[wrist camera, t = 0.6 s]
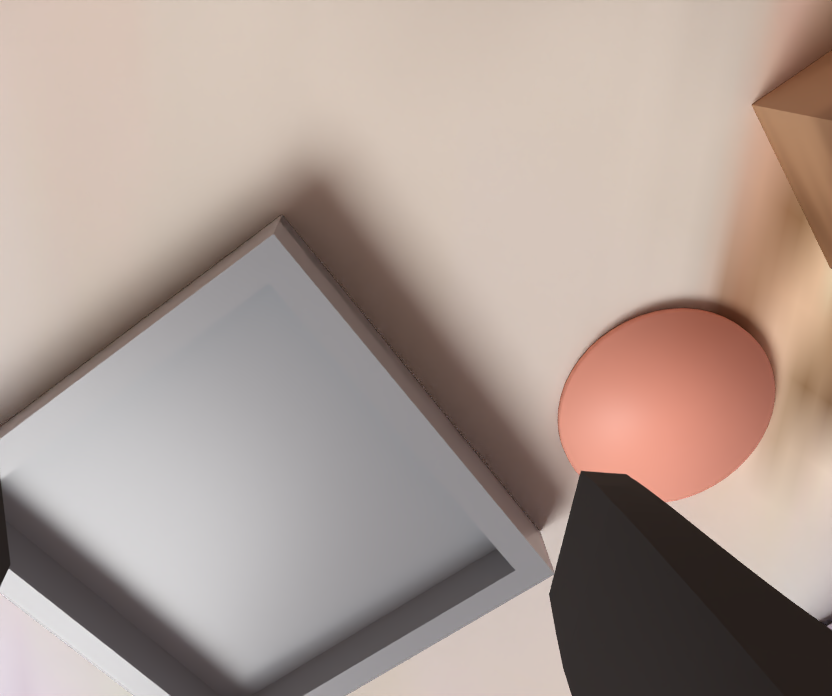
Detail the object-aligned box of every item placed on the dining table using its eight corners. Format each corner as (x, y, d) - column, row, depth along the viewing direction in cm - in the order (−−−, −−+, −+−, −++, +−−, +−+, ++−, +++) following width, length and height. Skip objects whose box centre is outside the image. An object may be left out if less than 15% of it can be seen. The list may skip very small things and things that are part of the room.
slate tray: (540, 532, 22) (554, 573, 20) (234, 715, 24) (224, 765, 22) (282, 214, 17) (273, 233, 16) (-63, 474, 20) (-103, 515, 18)
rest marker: (802, 425, 21) (808, 430, 20) (621, 530, 22) (625, 536, 22) (712, 264, 19) (718, 267, 18) (517, 390, 20) (519, 396, 19)
